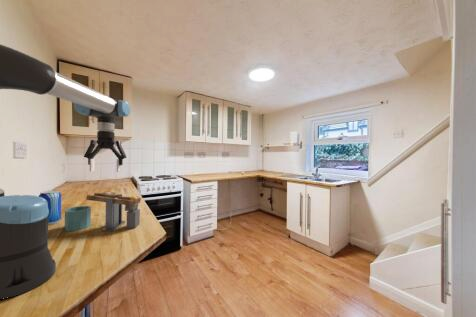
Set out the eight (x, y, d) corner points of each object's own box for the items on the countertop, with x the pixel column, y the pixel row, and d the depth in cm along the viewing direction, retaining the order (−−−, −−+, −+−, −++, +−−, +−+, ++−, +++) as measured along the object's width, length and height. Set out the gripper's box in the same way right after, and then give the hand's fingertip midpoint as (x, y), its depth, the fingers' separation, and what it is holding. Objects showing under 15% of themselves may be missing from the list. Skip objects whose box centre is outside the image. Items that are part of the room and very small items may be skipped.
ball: (134, 203, 91) (135, 197, 91) (127, 201, 91) (129, 195, 91) (136, 201, 94) (138, 196, 94) (130, 200, 94) (132, 194, 94)
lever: (145, 204, 104) (147, 194, 104) (133, 212, 89) (135, 200, 89) (104, 198, 102) (106, 188, 102) (84, 206, 87) (86, 194, 87)
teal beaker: (81, 230, 86) (81, 211, 85) (59, 231, 85) (59, 211, 84) (95, 223, 95) (95, 205, 95) (75, 223, 94) (75, 206, 94)
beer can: (33, 224, 91) (33, 192, 91) (54, 219, 99) (55, 189, 99) (43, 227, 89) (44, 194, 88) (64, 221, 97) (65, 191, 96)
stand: (113, 230, 86) (113, 199, 86) (101, 231, 86) (102, 199, 86) (125, 222, 97) (125, 194, 97) (114, 222, 97) (115, 194, 96)
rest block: (135, 228, 90) (135, 212, 90) (126, 228, 90) (126, 212, 90) (139, 224, 95) (139, 209, 95) (131, 224, 95) (131, 209, 95)
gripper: (133, 133, 104) (133, 171, 104) (85, 131, 101) (85, 170, 101) (127, 131, 97) (126, 172, 97) (75, 129, 94) (74, 171, 94)
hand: (105, 171), depth 99 cm, fingers open, 12 cm apart
